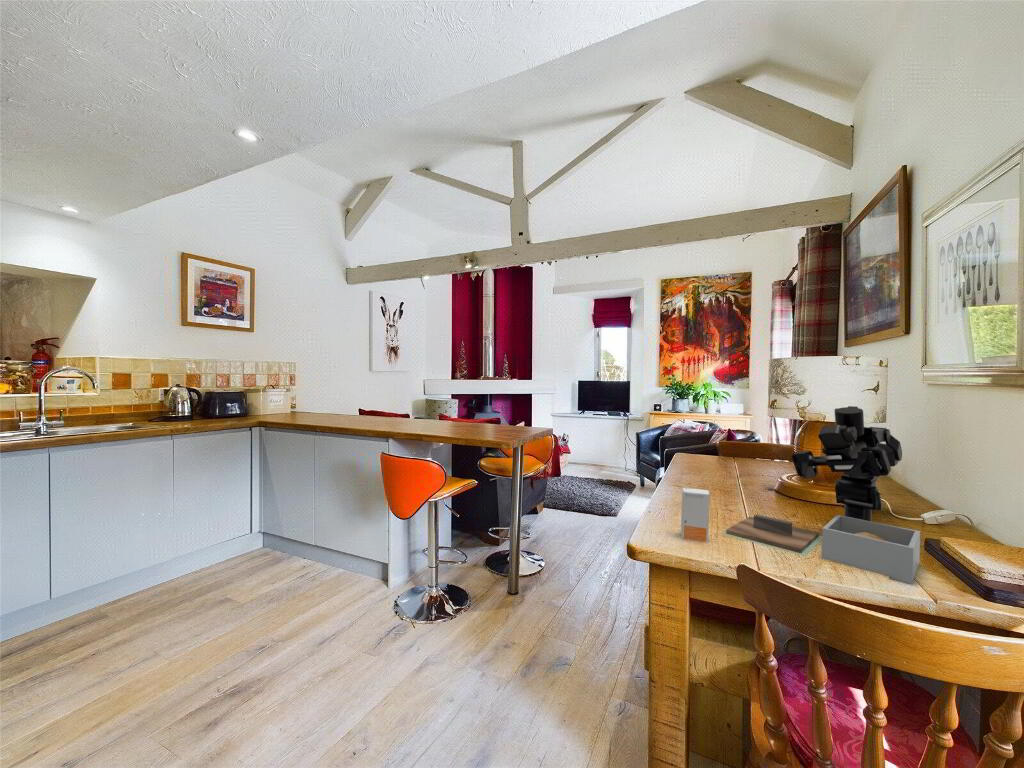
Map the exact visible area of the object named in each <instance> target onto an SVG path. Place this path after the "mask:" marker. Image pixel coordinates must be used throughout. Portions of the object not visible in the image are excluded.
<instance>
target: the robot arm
mask: <svg viewBox="0 0 1024 768" xmlns="http://www.w3.org/2000/svg"><path fill="white" fill-rule="evenodd" d="M833 411H834V424H833V425H831V424H830V425H823V426H821V427H820V429H819V432H818V435H817V437H818V439H819V440H820V442H821V444H822V446H823V447H822V449H821V450H822V454H823V455H814V454H813V452H812V451H810V450H802V451H801V450H800V451H799V450H798V451H795V452H794V453H793V454H791V456H790V457H791V459H792V462H793V465H794V468H795V471H796V474H797V476H798V477H801V478H804V479H812V478H816V477H817V475H818V473H819V469H818V468H819V467H822V466H823V467H824V466H827V467H828V468H830V470H831V473H842V474H841V475H840V478H839V480H836V481H835V487H834V491H835V501H836V504H841V505H844V510H843V513H844V514H843V516H846V517H851V518H856V519H861V520H866V521H871V522H873V521H872V519H873V518H872V513H873V511H882V510H883V509H882V508H883V506H882V505H883V502H882V497H881V493H880V492H879V488H878V487H877V481H878V480H879V478H880V477H881V476H886V477H887V476H888V475H889V474H890V472H891V470H892V468H891V467H896V466H897V465H898V463H899V462H901V461H902V459H903V450H902V445H901V441H900V440H898V439H897V438H896V437H894V436H893V435H892V434H891V430H890V429H889V428H886V427H876V426H874V427H873V426H869V427H867V426H865V420H864V410H863V409H862V408H861V407H860V408H859V406H851V405H848V406H846V407H839V408H834V409H833ZM883 442H884V443H883Z"/></svg>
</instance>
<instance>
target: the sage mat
mask: <svg viewBox="0 0 1024 768" xmlns="http://www.w3.org/2000/svg"><path fill="white" fill-rule="evenodd" d="M720 534H721V535H725V536H729V537H732V538H736V539H740V540H742V541H743V540H744V541H746V542H750V543H751V542H752V543H753V544H754V543H755V544H758V545H762V546H764V547H769V548H773V549H777V550H779V551H780V550H781V551H783V552H789V553H791V554H795V555H800V556H803V557H806V556H807V555H808V554H809V553H810V552H812V550H813V549H814V548H815V547H816V546H817V545H818V544H819V543H820V542H822V535H819V537H818V538H817V539H816V540H815V541H814V542H812V543H811V544H810V545H809V546H808V547H807V548H806V549H805V550H804V551H803V552H802V553H798V552H794V551H790V550H786V549H782V548H779V547H775V546H771V545H767V544H764V543H760V542H756V541H752V540H749V539H745V538H741V537H737V536H734V535H730V534H726V530H724V531H722V532H720Z"/></svg>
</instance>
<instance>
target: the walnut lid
mask: <svg viewBox="0 0 1024 768" xmlns="http://www.w3.org/2000/svg"><path fill="white" fill-rule="evenodd" d="M726 534H730V535H734V536H737V537H741V538H745V539H749V540H752V541H756V542H760V543H764V544H767V545H771V546H775V547H779V548H782V549H786V550H790V551H794V552H798V553H802V552H803V551H804V550H805V549H806V548H807V547H808V546H809V545H810V544H811V543H812V542H814V541H815V540H816V539H817V538H818V537H819V536H820V532H818V531H813V530H811V529H810V530H809V529H807V528H806V529H804V528H800V527H798V526H793V522H792V521H788V520H784V519H779V518H775V517H770V516H767V515H761V514H755V515H753V516H748V517H746V518H744V519H742V520H740V521H739V522H737V523H735V524H734V525H732V526H730V527H728V528H726Z"/></svg>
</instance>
